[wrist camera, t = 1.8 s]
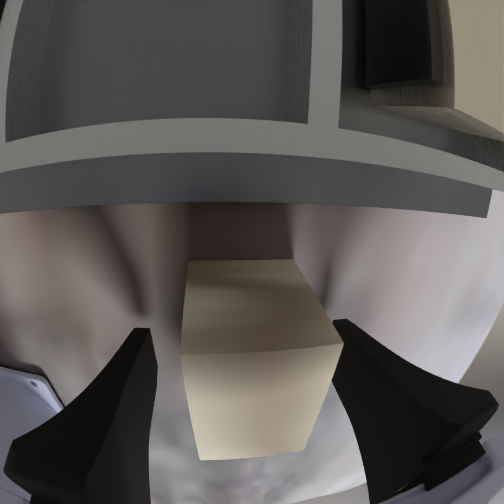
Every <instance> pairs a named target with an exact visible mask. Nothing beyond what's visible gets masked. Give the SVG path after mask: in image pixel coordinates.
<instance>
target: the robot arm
mask: <svg viewBox="0 0 504 504" xmlns="http://www.w3.org/2000/svg"><path fill="white" fill-rule="evenodd" d="M332 324H333V325H334V327H335V329H336V330H337V332H338V334H339V336H340V337H341V339H342V341H343V342H344V344H343V348H342V351H341V354H340V357H339V360H338V363H337V366H336V369H335V372H334V374H333V377H332V383H333V385H334V387H335V389H336V391H337V393H338V395H339V397H340V400H341V402H342V404H343V406H344V408H345V410H346V412H347V414H348V416H349V419H350V421H351V424H352V427H353V430H354V433H355V436H356V439H357V442H358V446H359V450H360V453H361V457H362V461H363V465H364V470H365V475H366V480H367V486H368V492H369V501H370V504H488V503H489V502H490V501H491V500H492V499H493V498H494V497H495V496H496V495H497V494H498V493H499V492H500V491H501V490H502V488H504V433H503V432H502V430H499V431H498V432H497V433H495V434H494V435H493V436H492V437H490V438H489V439H488V440H487V441H485V442H484V443H483V444H482V445H481V444H480V442H479V440H480V439H481V438H482V436H481V435H480V433H479V431H480V429H482V428H483V426H484V425H485V424H486V423H487V422H488V421H489V420H490V419H491V417H492V416H493V415H494V413H495V412H496V411H497V409H498V405H499V404H498V402H497V401H496V400H495V398H494V397H493V396H492V394H491V393H490V392H489V391H487V390H482V389H477V388H472V387H468V386H464V385H460V384H457V383H454V382H451V381H448V380H446V379H443V378H441V377H438V376H436V375H433V374H431V373H429V372H427V371H425V370H423V369H421V368H419V367H417V366H415V365H413V364H411V363H410V362H408V361H406V360H405V359H403V358H401V357H400V356H398V355H397V354H395V353H394V352H392V351H391V350H389V349H388V348H386V347H385V346H383V345H382V344H381V343H379V342H378V341H376V340H375V339H374V338H372V337H371V336H370V335H368V334H367V333H366V332H364V331H363V330H362V329H360V328H359V327H358V326H356V325H355V324H353V323H352V322H351V321H349V320H348V319H339V320H333V323H332ZM157 369H158V365H157V360H156V356H155V351H154V346H153V341H152V336H151V331H150V328H134V329H133V330H132V331H131V333H130V334H129V336H128V337H127V338H126V340H125V341H124V343H123V344H122V345H121V347H120V348H119V349H118V351H117V352H116V353H115V355H114V356H113V357H112V359H111V360H110V361H109V362H108V364H107V365H106V366H105V367H104V369H103V370H102V371H101V372H100V373H99V374H98V376H97V377H96V378H95V379H94V380H93V381H92V382H91V383H90V384H89V386H88V387H87V388H86V389H85V390H84V391H83V392H82V393H81V394H80V395H79V396H77V397H76V398H75V399H74V400H73V401H72V402H71V403H70V404H68V405H67V406H66V407H65V408H63V406H62V405H61V403H60V401H59V400H58V398H57V397H56V395H55V393H54V392H53V390H52V388H51V387H50V385H49V383H48V381H47V380H46V379H45V378H44V377H42V376H39V375H35V374H30V373H25V372H21V371H16V370H12V369H8V368H4V367H0V504H151V499H150V486H149V434H150V427H151V420H152V414H153V407H154V401H155V395H156V389H157Z"/></svg>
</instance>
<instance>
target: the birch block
mask: <svg viewBox="0 0 504 504" xmlns="http://www.w3.org/2000/svg"><path fill="white" fill-rule="evenodd" d="M343 344H344V342H343V341H342V339H341V337H340V336H339V334H338V332H337V330H336V329H335V327H334V325H333V324H332V322H331V320H330V319H329V317H328V315H327V313H326V312H325V310H324V308H323V307H322V305H321V303H320V302H319V300H318V298H317V297H316V295H315V293H314V292H313V290H312V289H311V287H310V285H309V284H308V282H307V280H306V279H305V277H304V275H303V274H302V272H301V271H300V269H299V267H298V266H297V264H296V262H295V261H294V259H274V260H212V261H188V270H187V279H186V288H185V298H184V309H183V321H182V333H181V347H180V358H181V365H182V371H183V377H184V383H185V389H186V395H187V401H188V406H189V411H190V416H191V421H192V426H193V431H194V436H195V440H196V445H197V449H198V454H199V458H200V460H223V459H239V458H251V457H261V456H269V455H277V454H284V453H290V452H296V451H302V450H303V449H304V447H305V445H306V443H307V440H308V438H309V436H310V434H311V431H312V429H313V426H314V424H315V422H316V419H317V417H318V414H319V412H320V409H321V407H322V404H323V402H324V399H325V396H326V394H327V391H328V388H329V386H330V383H331V380H332V377H333V374H334V372H335V369H336V366H337V363H338V360H339V357H340V354H341V351H342V348H343Z"/></svg>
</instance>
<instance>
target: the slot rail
mask: <svg viewBox="0 0 504 504" xmlns="http://www.w3.org/2000/svg"><path fill="white" fill-rule="evenodd" d="M492 189H494V190H498V191H501V192H504V0H0V214H2V213H11V212H20V211H30V210H41V209H52V208H65V207H79V206H95V205H113V204H136V203H168V202H275V203H307V204H331V205H350V206H366V207H381V208H394V209H406V210H418V211H428V212H439V213H448V214H457V215H466V216H474V217H482V218H487V213H488V209H489V204H490V199H491V194H492Z"/></svg>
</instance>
